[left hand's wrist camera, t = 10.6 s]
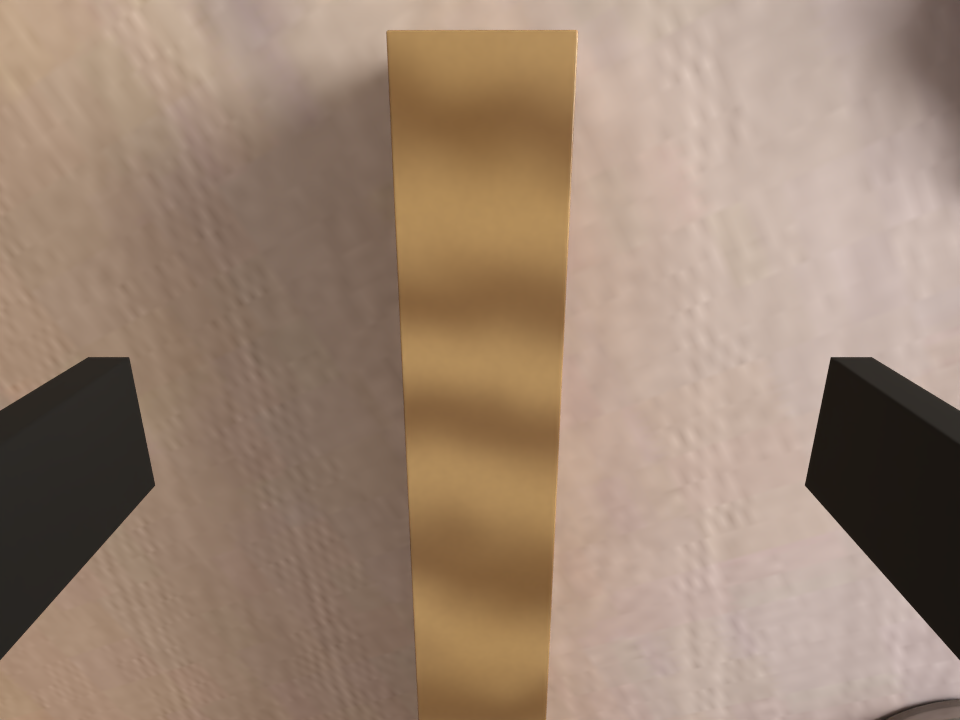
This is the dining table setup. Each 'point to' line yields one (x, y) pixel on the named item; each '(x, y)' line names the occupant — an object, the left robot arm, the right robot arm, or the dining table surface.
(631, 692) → the dining table surface
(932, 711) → the right robot arm
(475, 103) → the post
